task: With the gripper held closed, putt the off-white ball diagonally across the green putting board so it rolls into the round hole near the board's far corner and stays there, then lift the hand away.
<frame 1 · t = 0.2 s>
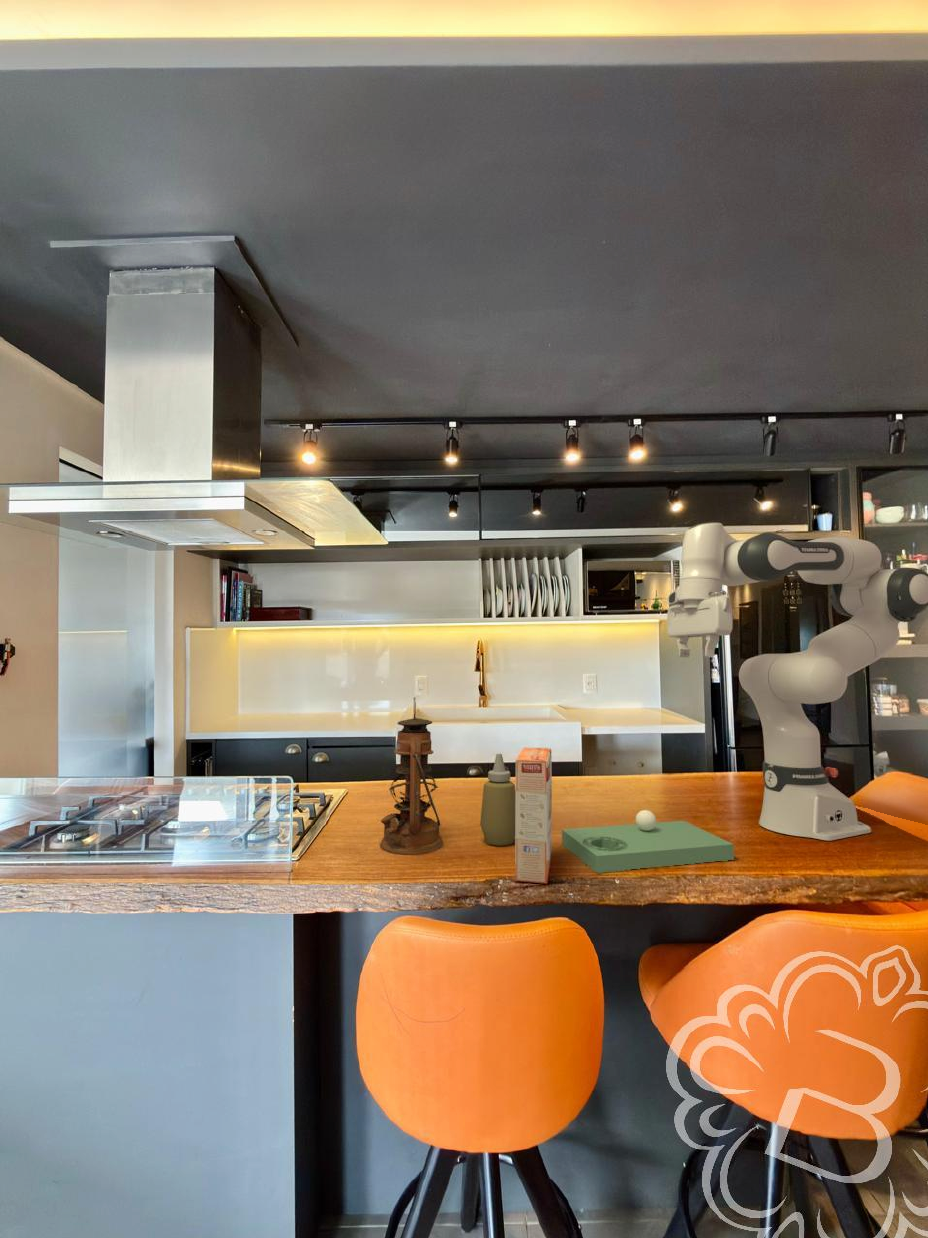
hand: (695, 657, 125), 38 cm above the countertop, tool pointing down, fingers open, 8 cm apart
squeeze bottle: (499, 842, 119), on the countertop
lantern: (411, 844, 118), on the countertop
ball: (645, 820, 117), point 5 cm above the countertop, touching putting board
cracker box: (535, 870, 104), on the countertop
putting board: (644, 852, 112), on the countertop
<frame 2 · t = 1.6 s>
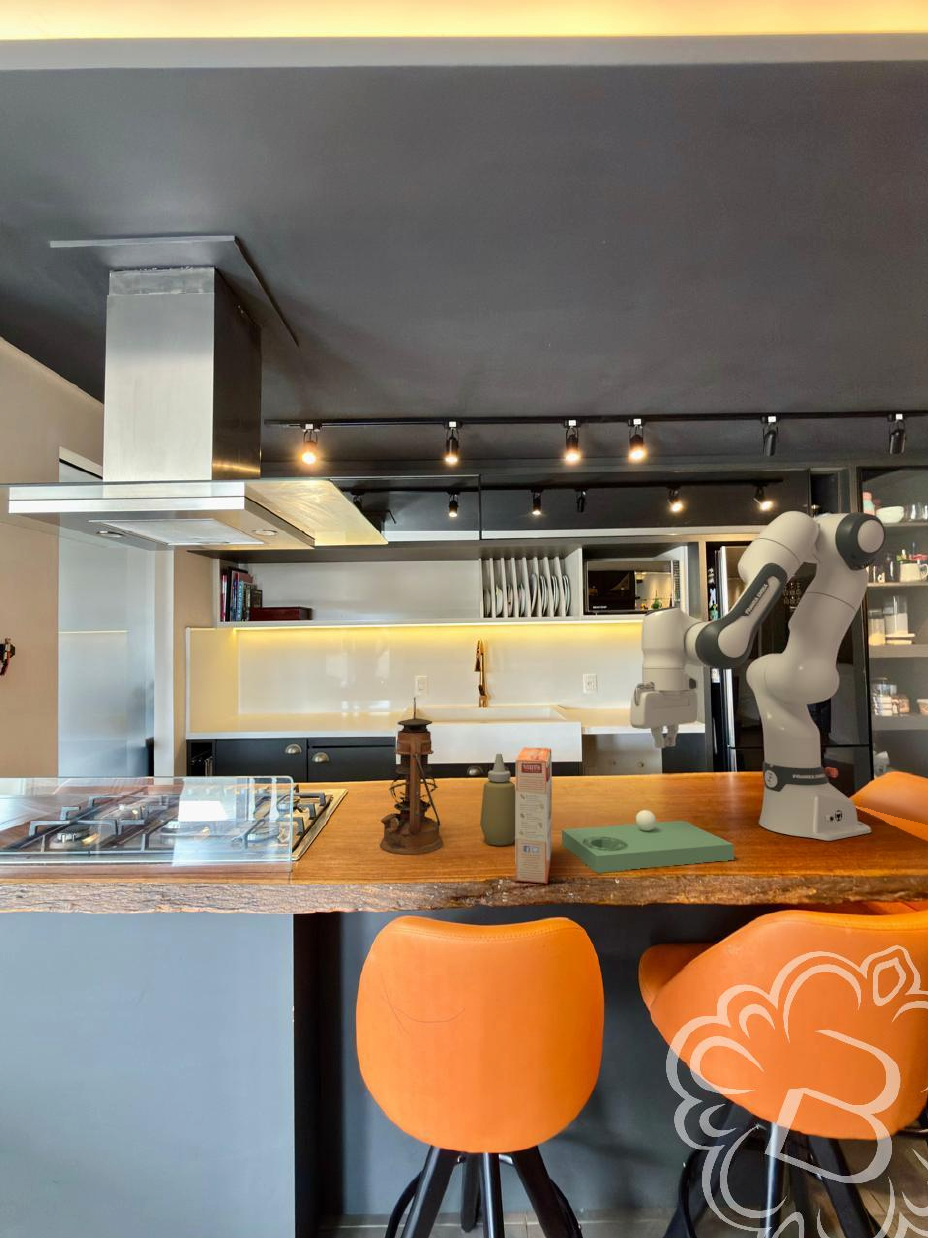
hand: (665, 746, 122), 19 cm above the countertop, tool pointing down, fingers closed
nothing on the countertop moved.
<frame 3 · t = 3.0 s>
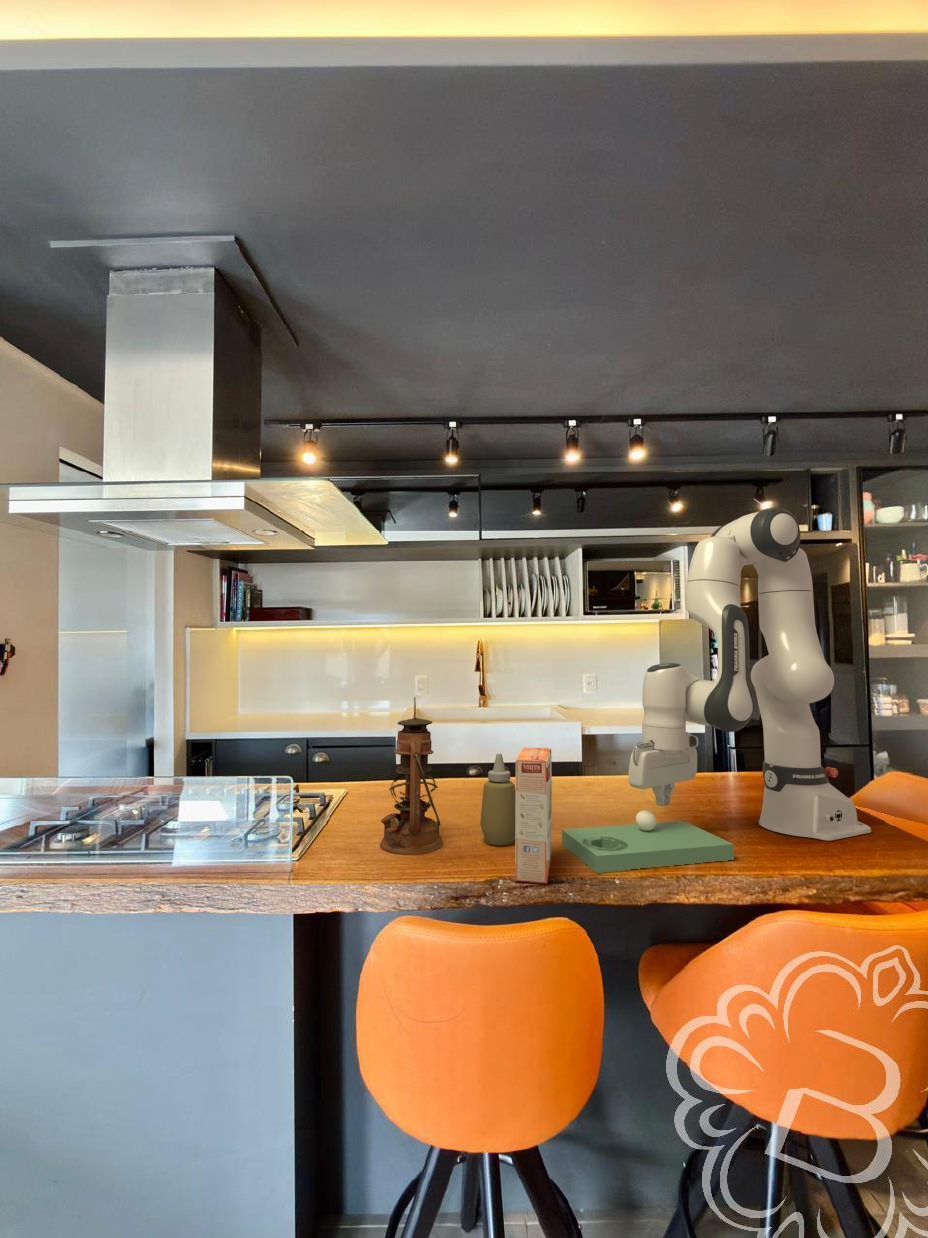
hand: (663, 805, 121), 7 cm above the countertop, tool pointing down, fingers closed
nothing on the countertop moved.
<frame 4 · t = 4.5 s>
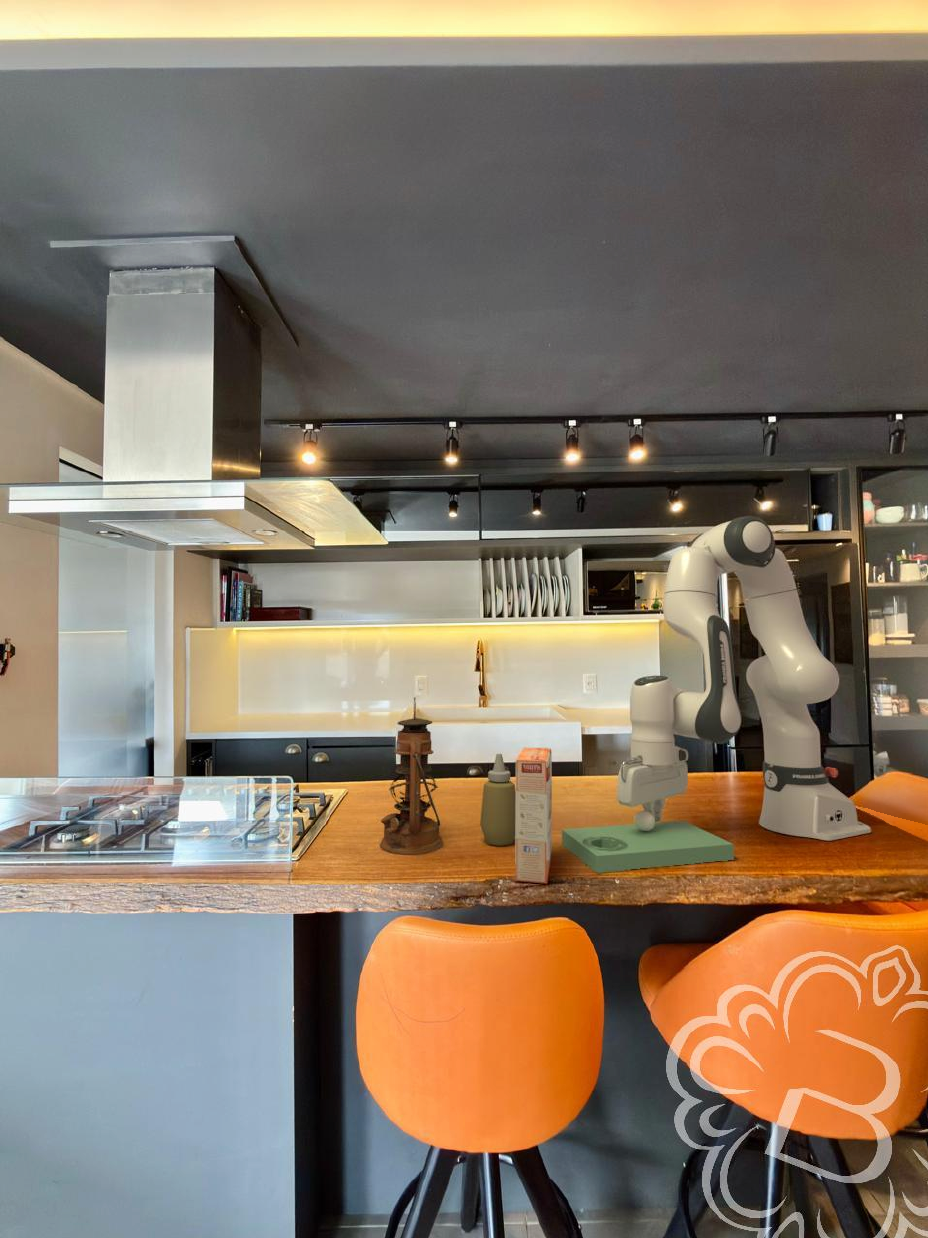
hand: (653, 821, 119), 4 cm above the countertop, tool pointing down, fingers closed
ball: (644, 820, 116), point 5 cm above the countertop, tilted 11°, touching putting board
everything else where it was.
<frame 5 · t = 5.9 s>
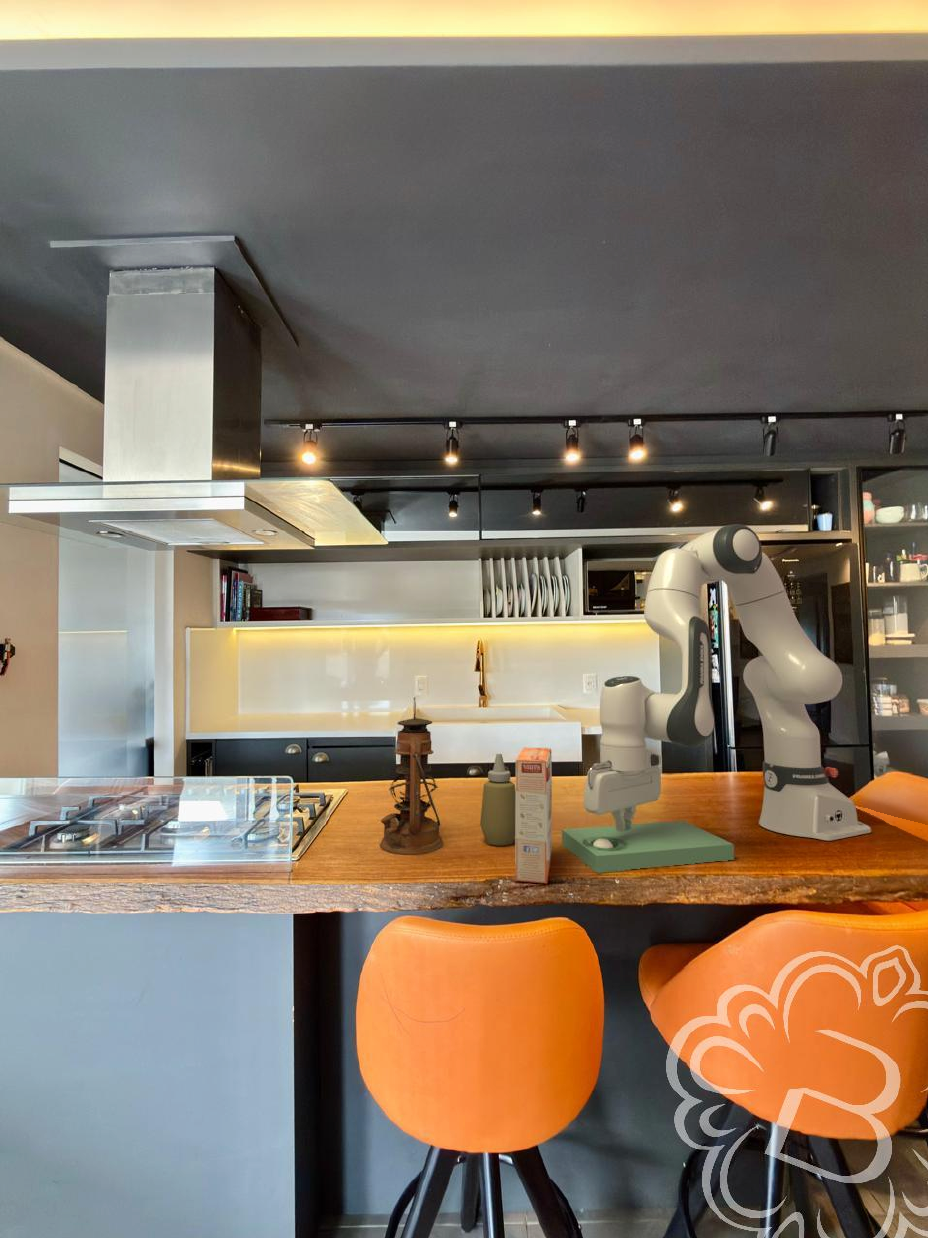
hand: (623, 829, 113), 4 cm above the countertop, tool pointing down, fingers closed
ball: (602, 849, 108), point 2 cm above the countertop, tilted 109°
everything else where it was.
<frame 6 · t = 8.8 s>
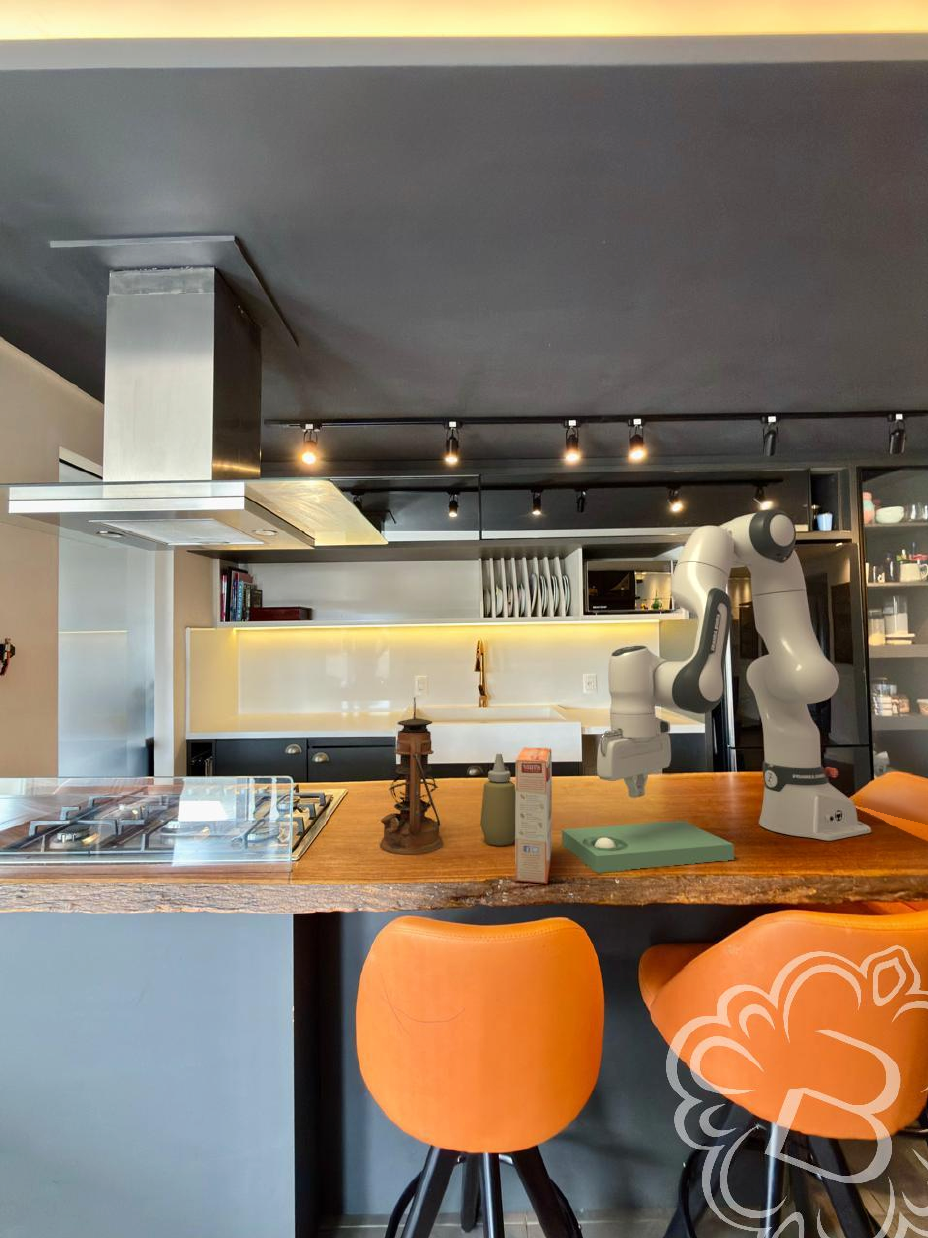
hand: (636, 796, 114), 10 cm above the countertop, tool pointing down, fingers closed
ball: (605, 848, 108), point 2 cm above the countertop, tilted 87°
everything else where it was.
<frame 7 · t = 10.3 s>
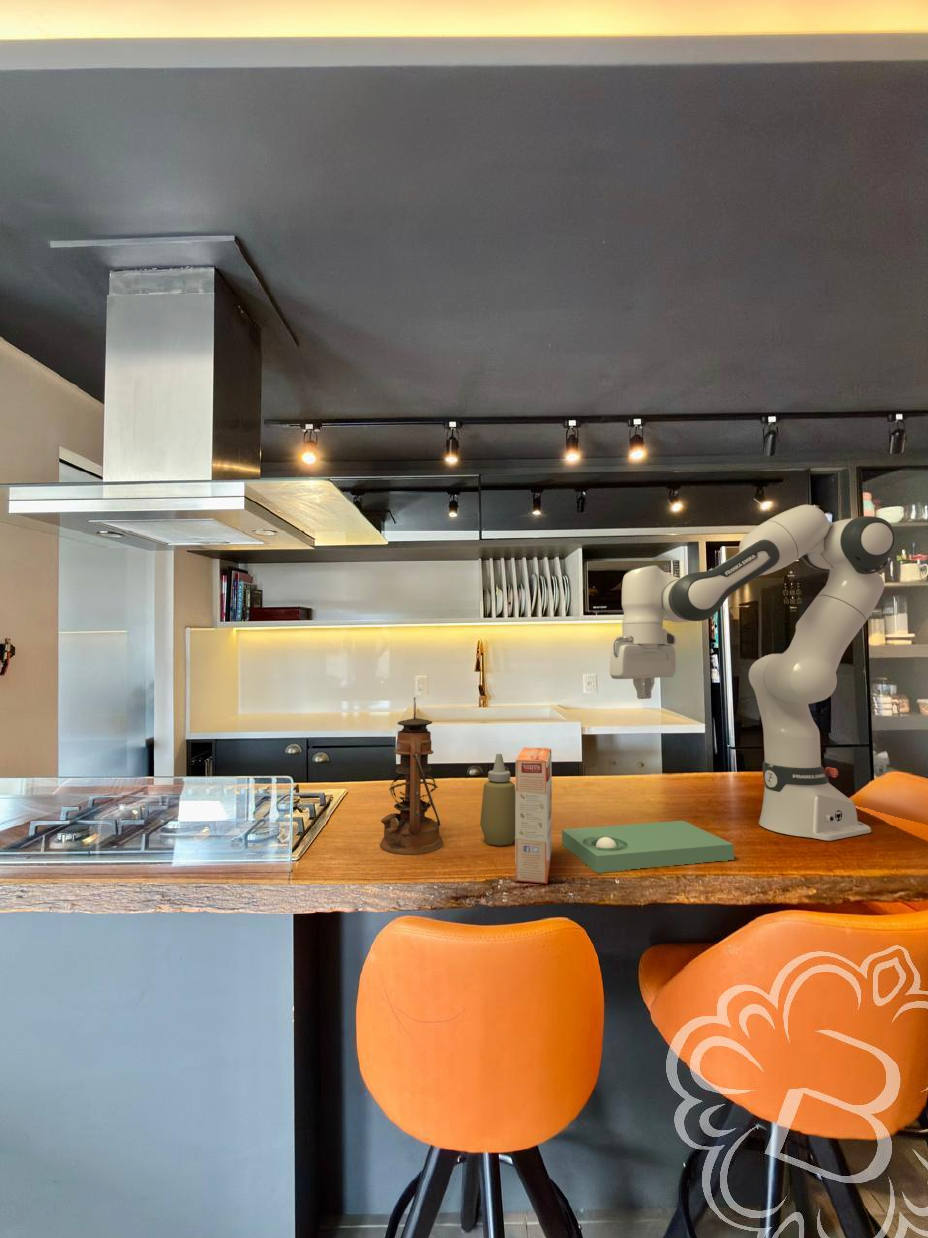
hand: (644, 698, 128), 29 cm above the countertop, tool pointing down, fingers closed
ball: (606, 848, 109), point 2 cm above the countertop, tilted 76°
everything else where it was.
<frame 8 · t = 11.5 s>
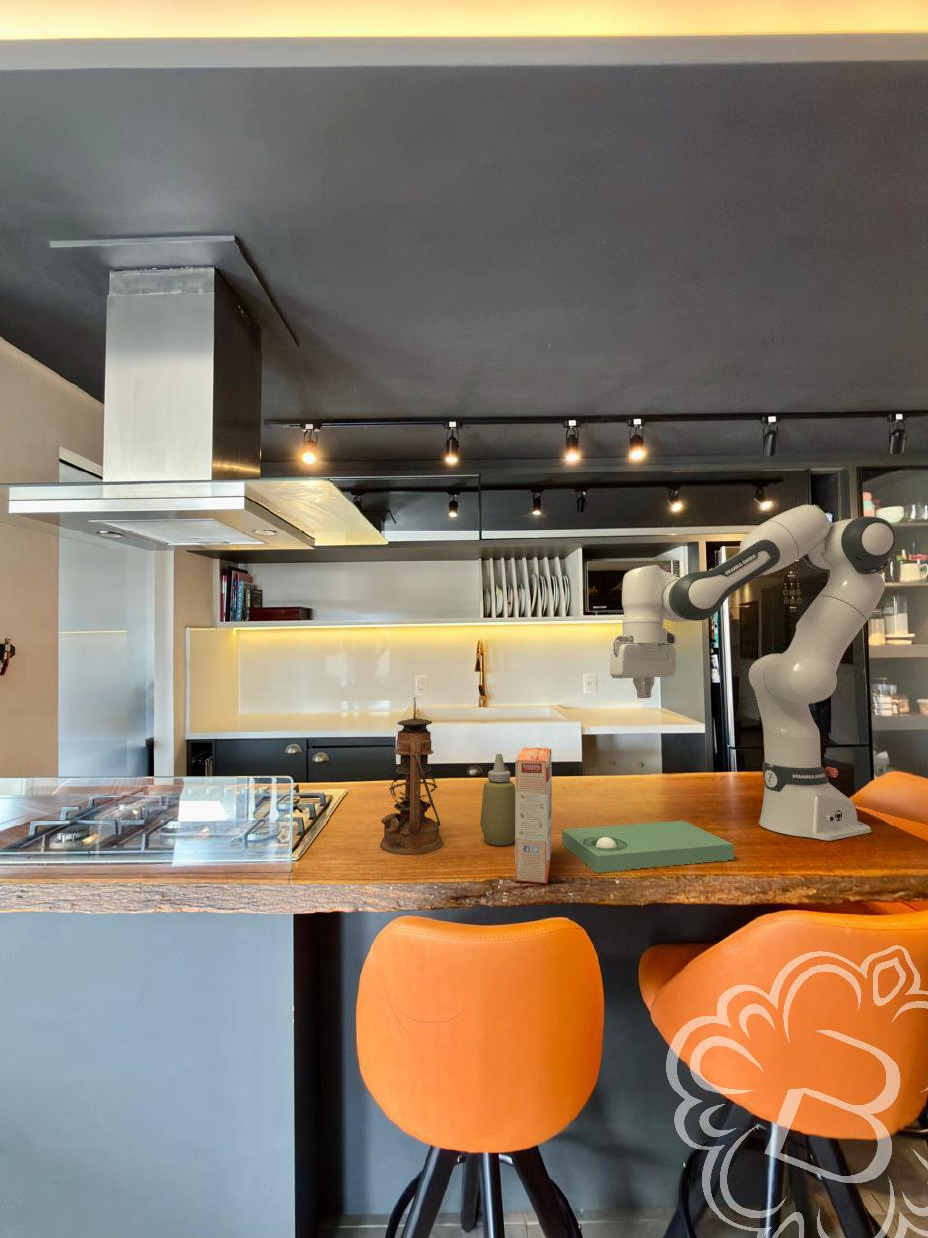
hand: (644, 698, 128), 29 cm above the countertop, tool pointing down, fingers closed
nothing on the countertop moved.
at the end: ball 0.5 cm from the target spot, point 2.0 cm above the countertop; ball point 2.0 cm above the countertop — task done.
